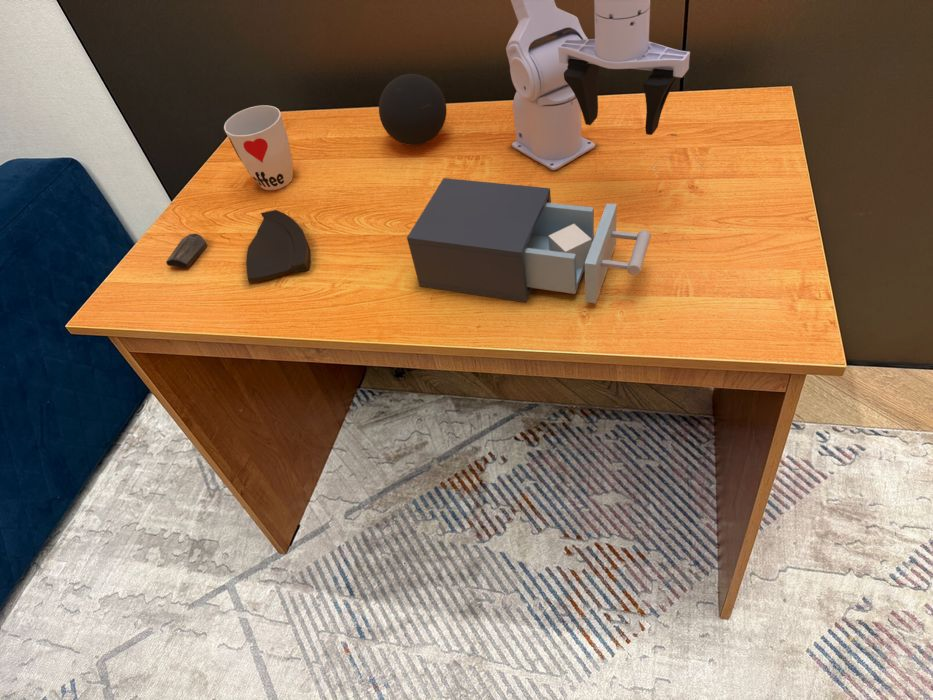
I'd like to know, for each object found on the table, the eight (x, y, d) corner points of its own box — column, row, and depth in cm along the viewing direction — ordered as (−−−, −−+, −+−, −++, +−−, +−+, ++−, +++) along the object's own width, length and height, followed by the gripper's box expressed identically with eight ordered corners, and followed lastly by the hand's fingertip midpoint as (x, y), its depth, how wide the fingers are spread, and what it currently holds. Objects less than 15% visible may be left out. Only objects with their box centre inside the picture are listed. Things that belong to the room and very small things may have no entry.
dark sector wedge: (310, 210, 98) (306, 201, 97) (310, 272, 89) (306, 263, 88) (252, 223, 98) (248, 213, 97) (247, 286, 89) (242, 276, 88)
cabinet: (553, 238, 87) (550, 187, 81) (526, 302, 80) (520, 252, 74) (453, 226, 91) (443, 177, 86) (419, 286, 84) (406, 237, 79)
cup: (239, 193, 104) (212, 133, 96) (269, 162, 109) (245, 103, 101) (284, 199, 101) (260, 138, 94) (312, 167, 106) (291, 107, 98)
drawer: (652, 247, 82) (655, 207, 77) (635, 309, 76) (637, 269, 71) (516, 231, 87) (512, 193, 83) (489, 288, 81) (483, 249, 77)
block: (169, 270, 94) (162, 260, 92) (187, 241, 98) (182, 231, 96) (192, 270, 93) (187, 260, 92) (210, 241, 97) (205, 231, 95)
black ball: (402, 120, 111) (388, 60, 104) (460, 124, 108) (450, 62, 101) (376, 156, 105) (360, 94, 98) (437, 161, 102) (424, 97, 95)
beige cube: (549, 258, 81) (548, 235, 79) (574, 246, 82) (573, 223, 80) (566, 275, 79) (565, 251, 76) (592, 262, 80) (591, 238, 77)
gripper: (703, -4, 72) (693, 117, 81) (575, -12, 78) (579, 100, 88) (679, 26, 68) (671, 148, 78) (546, 14, 74) (554, 129, 84)
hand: (621, 125), depth 83 cm, fingers open, 7 cm apart
